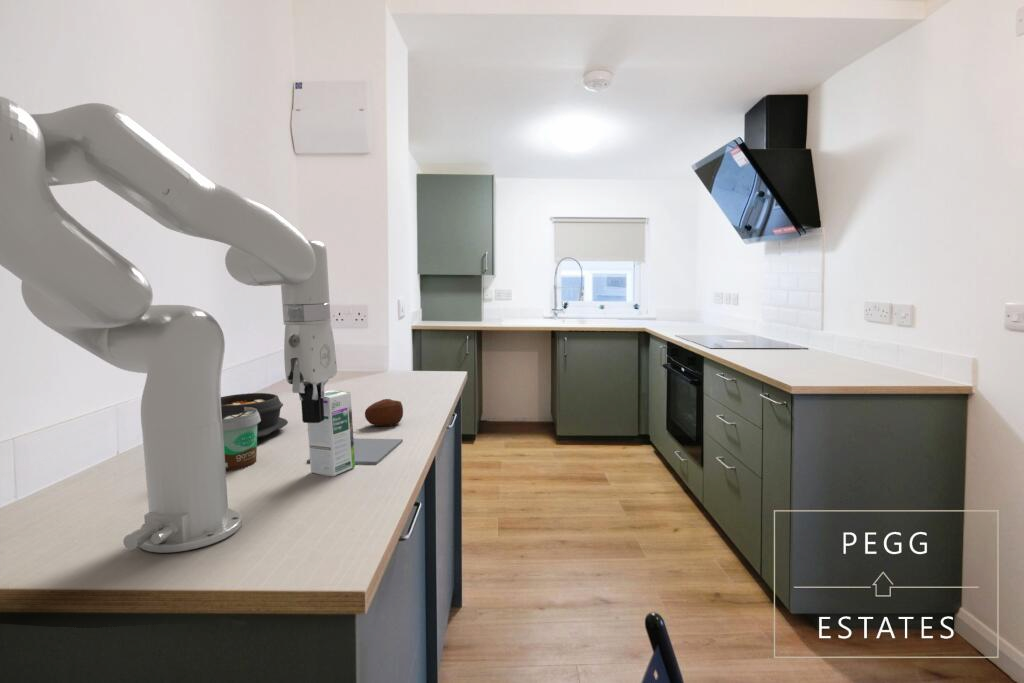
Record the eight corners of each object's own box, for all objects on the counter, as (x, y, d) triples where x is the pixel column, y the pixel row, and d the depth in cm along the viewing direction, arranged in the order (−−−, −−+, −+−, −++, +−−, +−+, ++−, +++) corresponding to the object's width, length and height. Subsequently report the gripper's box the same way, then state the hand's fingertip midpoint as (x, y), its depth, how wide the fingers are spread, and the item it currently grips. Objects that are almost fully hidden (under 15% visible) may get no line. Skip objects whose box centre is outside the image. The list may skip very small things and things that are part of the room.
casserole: (285, 444, 126) (283, 406, 125) (189, 453, 120) (186, 413, 119) (290, 419, 150) (289, 387, 149) (210, 425, 144) (208, 392, 143)
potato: (406, 426, 139) (405, 400, 139) (366, 430, 136) (365, 403, 136) (401, 420, 146) (400, 395, 145) (363, 424, 143) (362, 398, 142)
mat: (376, 464, 110) (376, 461, 110) (307, 462, 112) (306, 460, 112) (402, 441, 126) (402, 439, 126) (341, 440, 128) (341, 438, 128)
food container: (235, 476, 105) (232, 421, 104) (206, 474, 106) (202, 420, 105) (276, 456, 117) (273, 407, 116) (249, 454, 118) (246, 406, 117)
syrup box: (334, 477, 103) (330, 397, 102) (309, 473, 106) (305, 394, 105) (355, 467, 109) (352, 391, 107) (331, 464, 111) (327, 389, 110)
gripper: (306, 317, 90) (314, 433, 92) (346, 311, 104) (351, 411, 106) (261, 318, 91) (269, 433, 93) (306, 312, 105) (313, 411, 107)
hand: (313, 421), depth 100 cm, fingers closed
